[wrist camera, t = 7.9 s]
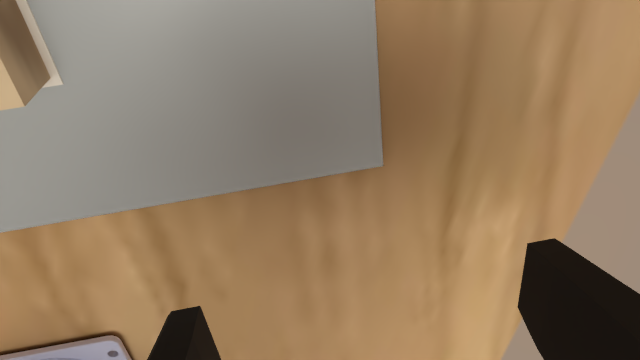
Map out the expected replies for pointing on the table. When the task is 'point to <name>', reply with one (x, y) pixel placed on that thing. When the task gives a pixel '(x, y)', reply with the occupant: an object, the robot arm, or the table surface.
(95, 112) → the build plate
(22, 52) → the oak base block
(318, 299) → the table surface
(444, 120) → the table surface
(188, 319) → the robot arm
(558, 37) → the table surface
